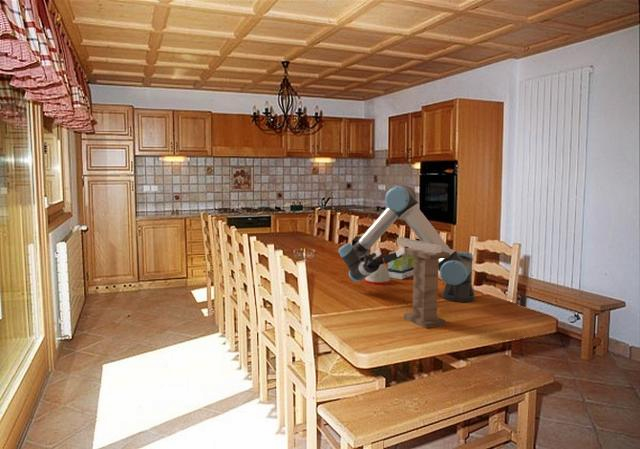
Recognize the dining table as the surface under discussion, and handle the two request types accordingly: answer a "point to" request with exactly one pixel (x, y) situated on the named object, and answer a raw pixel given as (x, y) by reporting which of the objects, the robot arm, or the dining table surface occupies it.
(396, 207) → the robot arm
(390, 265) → the tea box
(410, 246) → the aluminium bar
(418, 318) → the walnut pedestal
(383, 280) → the kitchen timer
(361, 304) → the dining table surface
